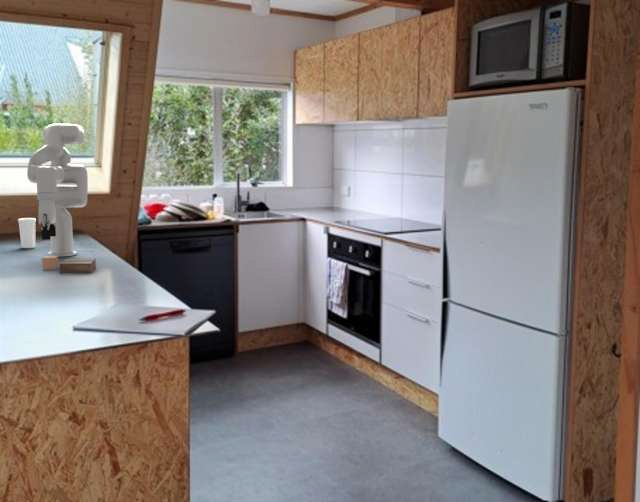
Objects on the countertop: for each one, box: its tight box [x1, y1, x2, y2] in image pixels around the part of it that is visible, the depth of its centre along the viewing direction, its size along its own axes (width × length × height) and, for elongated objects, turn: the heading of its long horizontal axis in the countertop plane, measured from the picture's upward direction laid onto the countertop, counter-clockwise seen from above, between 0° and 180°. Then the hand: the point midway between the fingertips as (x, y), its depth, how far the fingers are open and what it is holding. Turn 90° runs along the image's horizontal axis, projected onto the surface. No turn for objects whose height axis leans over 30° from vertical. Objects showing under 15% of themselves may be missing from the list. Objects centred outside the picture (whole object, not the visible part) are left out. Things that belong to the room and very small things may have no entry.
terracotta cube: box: [41, 255, 59, 271], centre depth 276 cm, size 5×5×5 cm
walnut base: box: [58, 257, 97, 274], centre depth 273 cm, size 12×12×4 cm
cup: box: [17, 217, 37, 249], centre depth 322 cm, size 8×8×14 cm
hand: (49, 237), depth 274 cm, fingers open, 9 cm apart
